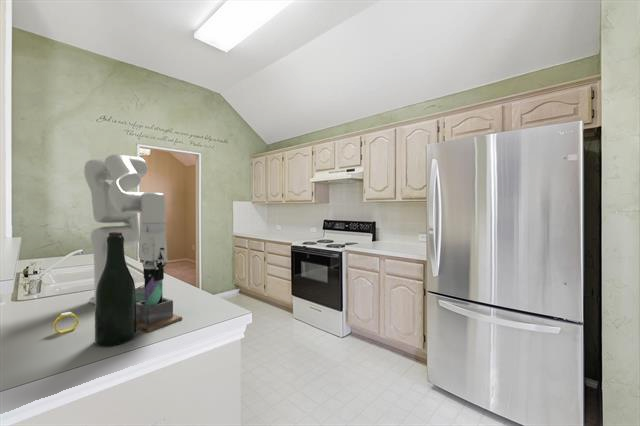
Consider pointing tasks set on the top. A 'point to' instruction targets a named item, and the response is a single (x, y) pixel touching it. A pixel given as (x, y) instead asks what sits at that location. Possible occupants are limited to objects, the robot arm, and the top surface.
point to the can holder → (155, 315)
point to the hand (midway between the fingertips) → (153, 278)
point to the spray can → (152, 286)
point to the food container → (140, 293)
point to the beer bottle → (115, 297)
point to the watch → (65, 316)
